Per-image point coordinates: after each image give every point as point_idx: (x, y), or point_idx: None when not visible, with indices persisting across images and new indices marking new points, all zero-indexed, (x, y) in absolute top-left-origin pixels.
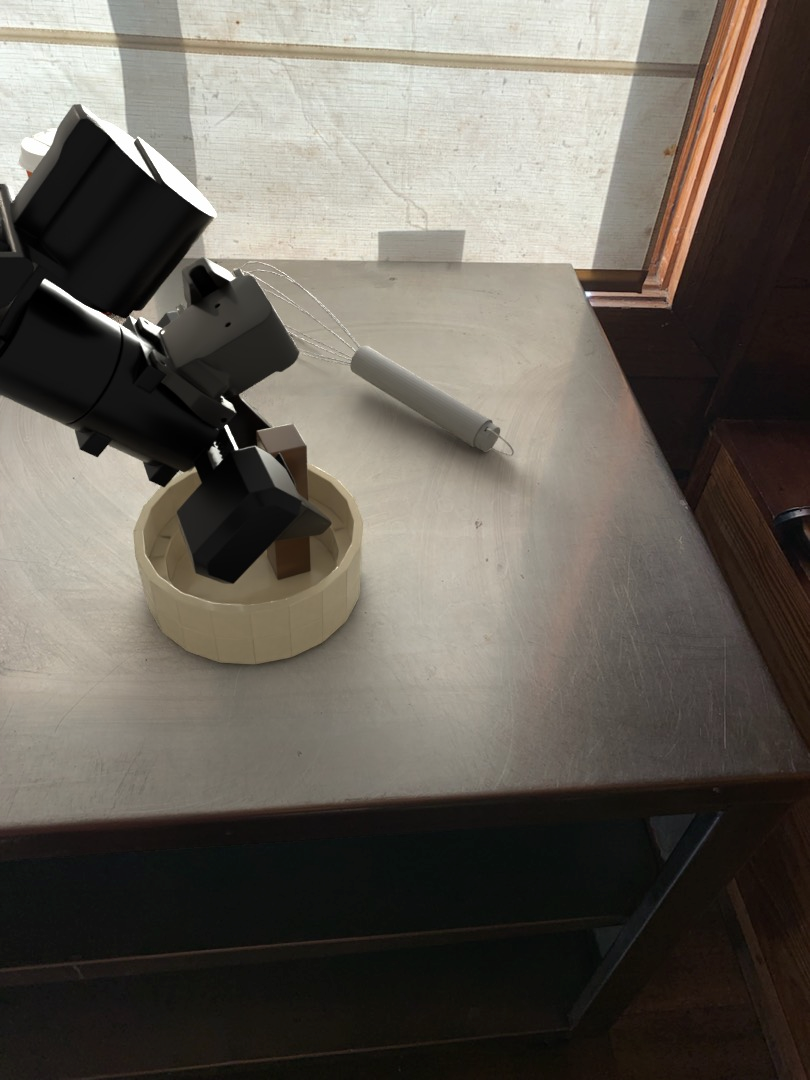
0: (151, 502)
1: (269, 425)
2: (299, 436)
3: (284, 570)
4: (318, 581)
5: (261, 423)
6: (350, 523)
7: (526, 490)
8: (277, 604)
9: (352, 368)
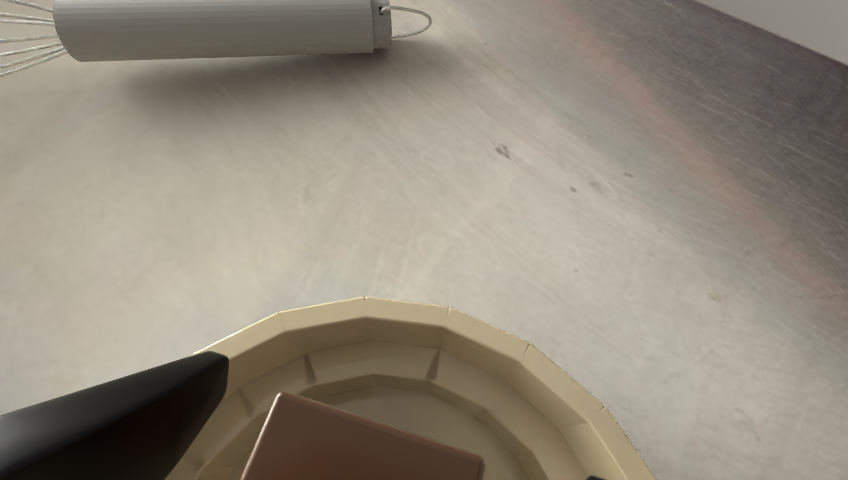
0: None
1: (116, 399)
2: (395, 441)
3: None
4: None
5: (86, 443)
6: (481, 356)
7: (486, 62)
8: None
9: (76, 54)
